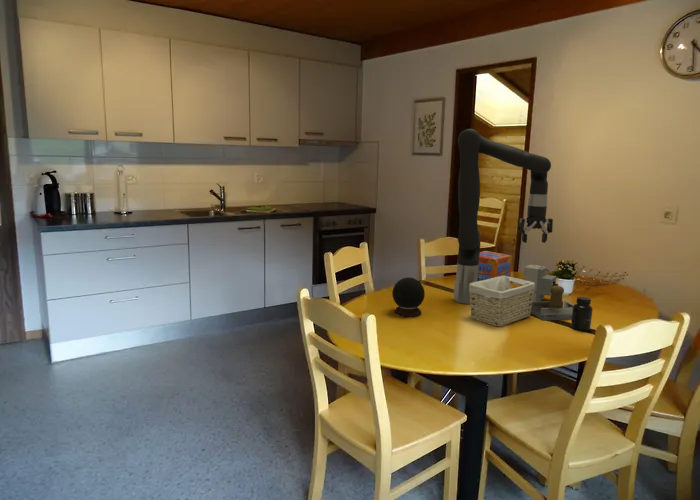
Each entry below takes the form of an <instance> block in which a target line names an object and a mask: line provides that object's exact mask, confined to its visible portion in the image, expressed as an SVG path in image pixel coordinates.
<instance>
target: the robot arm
mask: <svg viewBox="0 0 700 500" xmlns="http://www.w3.org/2000/svg"><path fill="white" fill-rule="evenodd" d="M457 144H458V150H459V159H460V163H459V173H458V180H457V181H458V182H457V197H458V198H457V199H458V202H457V203H458V211H459V212H458V213H459V226H458V227H459V228H458V235H457V236H458V237H457V242H458V252H457V253H458V254H457V259H456V275H455V276H456V278H455V279H454V285H453V287H454V289H453V301H455V302H456V303H458V304H464V305H465V304H466V305H469V304H470V294H469V284H470V283H473V282H477V280H478V264H479V255H480V252H481V242H482V241H481V240H482V239H481V233H480V231H479V227H478V214H479V209H480V201H481V200H480V199H481V180H480V179H481V178H480V177H481V176H480V170H479V154H483V155H486V156H489V157H492V158H495V159H497V160H500V161H501V162H504V163H507V164H509V165H512V166H515V167H518V168H522V169H526V170H528V171H530V186H529V196H528V201H527V217H526V218H523V217H520V218H519V221H518V228H517V232H519V233H521V241H522V242H523V243H524V244H526V243H527V241H528V234H529V231H531V230H535V229H537V230H538V229H539V230H541V232H542V234H541V243H543V244H544V243H545V244H546V242H547V241H548V234H550V233H553V227H554V226H553V225H554V223H553V222H554V221H553V220H554V219H553V218H550V217H548V218H546V217H547V208H548V191H549V190H548V189H549V184H548V173H549V171H550V170H551V168H552V163H551V161H550V160H549V158H548V157H546V156H543V155H538V154H535V153H531V152H528V151H526V150H523V149H521V148H519V147H515V146H512V145H509V144H505V143H501V142H496V141H494V140H491V139H489V138H486V137H484V136H482V135H481V134H479V132H478V131H477V130H475V129H473V128H467V129H464V130H462V131H461V132H460V133H459V135H458V138H457ZM525 224H526V225H525ZM545 224H546V225H545Z"/></svg>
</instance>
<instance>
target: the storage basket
mask: <svg viewBox="0 0 700 500" xmlns="http://www.w3.org/2000/svg"><path fill="white" fill-rule="evenodd" d="M511 285H515V286H518V287H513V288H511ZM534 289H535V283H534V282H530V281H526V280H525V279H521V278H517V277H513V276H511V277H508V276H500V277H495V278H491V279H487V280H482V281H478V282H473V283H470V284H469V294H470V305H469V306H470V307H469V308H470V318H472V320H477V321H480V322H482V323H485V324H489V325H491V326H494V327H503V326H505V325H508V324H511V323H515V322H517V321H520V320H523V319H525V318H528V317H530V316H531V314H532V313H531V307H532V302H534V301H533V296H534V291H535V290H534Z"/></svg>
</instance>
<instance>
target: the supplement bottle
mask: <svg viewBox="0 0 700 500" xmlns="http://www.w3.org/2000/svg"><path fill="white" fill-rule="evenodd" d="M575 302H576V303H574V304H573V305H574V306H573V312H572V320H571V322H570V327H571V329H573V330H574V331H575V330H576V331H579V332H580V331H581V332H588V331H590V330H591V325H592V319H593V318H592V317H593V312H594V311H593V310H594V309H593V306H592V305H591V303H592V300H591V298H590V297H587V296H577V297H576V301H575Z"/></svg>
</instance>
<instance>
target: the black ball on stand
mask: <svg viewBox="0 0 700 500" xmlns="http://www.w3.org/2000/svg"><path fill="white" fill-rule="evenodd" d="M391 295H392V299H393V301H394V304H396V305H397V307H396V308H395V309H394V310H393V313H395V314H397V315H399V316H398V317H401V316H403V317H402V318H408V317H412V318H417V317H420V316H421V315H422V310H421V309H420V308H419V307H420V306H421V305H422V303H423V302H424V300H425V295H426V294H425V288H424V286H423V284H422V283H421V282H420V281H419V280H418V279H416V278H415V277H404V278H403V277H402V278H401V279H399V280H397V282H396V283H394V286H393V289H392V294H391ZM395 314H394V315H395ZM397 315H396V316H397Z"/></svg>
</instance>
